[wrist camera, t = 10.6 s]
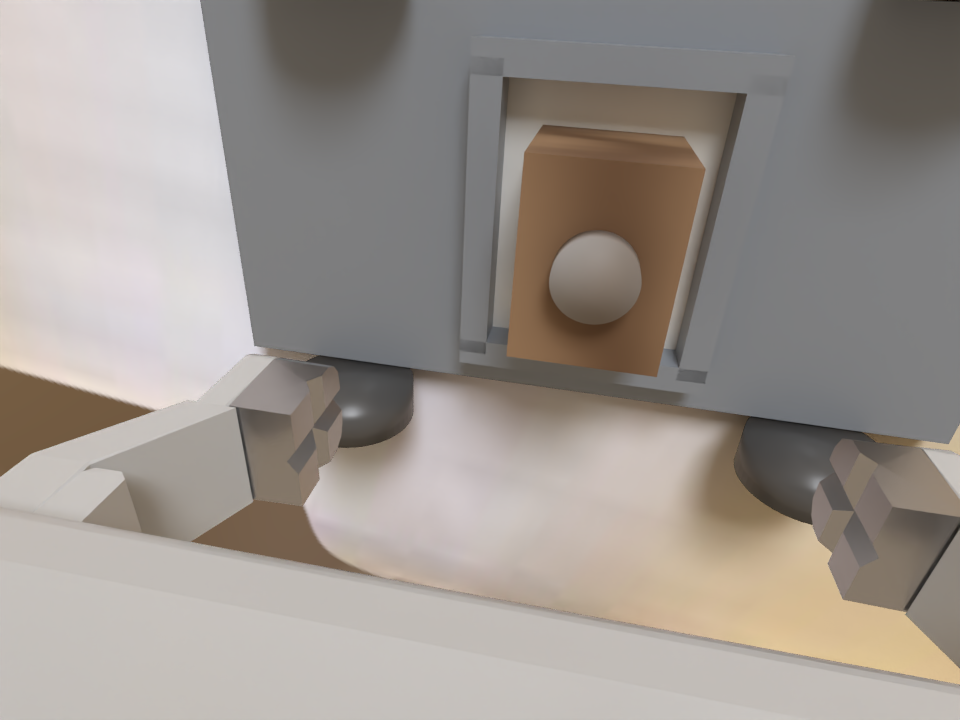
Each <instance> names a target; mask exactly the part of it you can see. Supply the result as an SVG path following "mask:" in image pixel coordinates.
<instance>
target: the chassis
mask: <svg viewBox="0 0 960 720" xmlns="http://www.w3.org/2000/svg"><path fill="white" fill-rule="evenodd" d="M200 2H201V8H202V14H203V21H204V27H205V34H206V40H207V46H208V53H209V59H210V65H211V72H212V78H213V84H214V91H215V97H216V104H217V110H218V116H219V123H220V129H221V135H222V142H223V148H224V155H225V161H226V167H227V174H228V180H229V186H230V193H231V199H232V206H233V212H234V218H235V225H236V231H237V237H238V244H239V250H240V257H241V263H242V269H243V276H244V282H245V288H246V295H247V301H248V307H249V314H250V320H251V327H252V333H253V339H254V346H259V347H266V348H273V349H280V350H287V351H294V352H301V353H308V354H315V355H319V356H317V357H314V358H312V359H310V360H308V361H306V362H310V363H317V364H323V365H329V366H334V367H335V369H336V370H337V371H338V375H339V384H340V389H339V391H338V392H337V394H336V395H335V397H334V398H333V399H334V401H335V402H336V403H337V405H338V406H339V407H340V408H341V410H342V421H343V422H342V434H341V438H340V441H339V445H338V447H341V448H351V447H362V446H368V445H372V444H376V443H379V442H382V441H385V440H387V439H389V438H391V437H393V436H395V435H396V434H398V433H399V432H401V431H402V430H403V429H404V428H405V427H406V426H407V425H408V424H409V422H410V420H411V418H412V416H413V374H412V371H411V369H410V368H414V369H421V370H428V371H435V372H442V373H449V374H457V375H464V376H471V377H478V378H485V379H492V380H499V381H506V382H513V383H520V384H527V385H534V386H541V387H548V388H555V389H563V390H570V391H577V392H584V393H591V394H598V395H605V396H612V397H619V398H626V399H633V400H640V401H647V402H654V403H661V404H669V405H676V406H683V407H690V408H697V409H704V410H711V411H718V412H725V413H732V414H739V415H746V416H751V417H750V418H749V419H748V420H747V422H746V425H745V428H744V431H743V434H742V437H741V440H740V443H739V446H738V449H737V452H736V455H735V458H734V468H735V471H736V474H737V476H738V478H739V479H740V481H741V482H742V484H743V485H744V486H745V487H746V488H747V489H748V491H749V492H750V493H752V494H753V495H754V496H755V497H756V498H757V499H759V500H760V501H761V502H763V503H764V504H766V505H767V506H769V507H771V508H772V509H774V510H776V511H778V512H780V513H782V514H784V515H786V516H788V517H790V518H793V519H796V520H798V521H801V522H804V523H808V524H811V525H813V523H812V517H811V513H812V502H813V496H814V494H815V491H816V489H817V486H818V484H819V481H821V480H823V479H824V478H826V477H827V476H829V475H831V474H832V473H834V472H835V471H834V469H833V467H832V465H831V462H830V460H829V459H830V456H831V454H832V452H833V450H834V448H835V446H836V445H837V444H838V443H839V442H840V441H841V440H842V439H850V440H858V441H867V442H875V441H874V440H872V439H871V438H870V437H868V436H867V435H865V434H864V433H862V432H866V433H873V434H881V435H888V436H895V437H902V438H909V439H916V440H923V441H930V442H937V443H944V444H949V442H950V440H951V439H952V437H953V435H954V433H955V431H956V429H957V428H958V426H959V424H960V2H953V1H932V0H200ZM542 125H554V126H566V127H578V128H589V129H601V130H613V131H624V132H636V133H648V134H659V135H671V136H683V137H685V139H686V140H687V142H688V143H689V145H690V146H691V148H692V149H693V151H694V152H695V154H696V155H697V157H698V158H699V160H700V161H701V163H702V164H703V165H704V167H705V168H706V170H705V174H704V179H703V183H702V187H701V191H700V196H699V200H698V204H697V208H696V213H695V217H694V221H693V225H692V230H691V234H690V238H689V242H688V247H687V251H686V255H685V259H684V264H683V268H682V272H681V276H680V281H679V285H678V289H677V293H676V298H675V302H674V306H673V310H672V315H671V319H670V323H669V327H668V332H667V336H666V340H665V344H664V349H663V353H662V357H661V361H660V366H659V370H658V374H657V377H652V376H645V375H638V374H630V373H623V372H616V371H609V370H602V369H595V368H587V367H580V366H573V365H566V364H559V363H552V362H544V361H537V360H530V359H523V358H516V357H509V356H506V355H507V344H508V332H509V321H510V309H511V298H512V286H513V275H514V263H515V252H516V240H517V229H518V217H519V206H520V194H521V183H522V171H523V160H524V152H525V150H526V149H527V147H528V146H529V144H530V143H531V141H532V140H533V138H534V137H535V136H536V134H537V133H538V131H539V130H540V128H541V127H542ZM875 443H876V442H875Z"/></svg>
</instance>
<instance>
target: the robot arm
mask: <svg viewBox="0 0 960 720" xmlns="http://www.w3.org/2000/svg"><path fill="white" fill-rule="evenodd" d="M339 389H340V384H339V375H338V371H337V370H336V369H335V367H334V366H329V365H323V364H317V363H310V362H304V361H298V360H292V359H286V358H278V357H274V356H266V355H258V354H249V355H246V356H245V357H244V358H243V359H242V360H241V361H240V362H238V363H237V364H236V365H235V366H234V367H233V368H232V369H231V370H230V371H229V372H228V373H227V374H226V375H224V376H223V377H222V378H221V379H220V380H219V381H218V382H217V383H216V384H215V385H214V386H213V387H212V388H210V389H209V390H208V391H207V392H206V393H205V394H204V395H203V396H202V397H201V398H200V399H199V400H198V401H189V400H187V401H184V402H181V403H178V404H175V405H172V406H170V407H167V408H164V409H161V410H158V411H155V412H152V413H149V414H146V415H143V416H140V417H137V418H135V419H132V420H129V421H126V422H123V423H120V424H117V425H114V426H111V427H108V428H105V429H102V430H100V431H97V432H94V433H91V434H88V435H85V436H82V437H79V438H76V439H73V440H70V441H67V442H65V443H62V444H59V445H56V446H53V447H50V448H47V449H44V450H41V451H38V452H35V453H32V454H30V455H29V456H28V457H27V458H25V459H24V460H23V461H21V462H20V463H19V464H17V465H16V466H14V467H13V468H12V469H11V470H9V471H8V472H7V473H5V474H4V475H3V476H1V477H0V720H960V685H959V684H954V683H948V682H943V681H938V680H932V679H927V678H921V677H916V676H911V675H905V674H900V673H895V672H889V671H884V670H878V669H873V668H868V667H862V666H857V665H852V664H846V663H841V662H835V661H830V660H825V659H819V658H814V657H809V656H803V655H798V654H793V653H787V652H782V651H776V650H771V649H766V648H760V647H755V646H750V645H744V644H739V643H733V642H728V641H723V640H717V639H712V638H707V637H701V636H696V635H690V634H685V633H680V632H674V631H669V630H664V629H658V628H653V627H647V626H642V625H636V624H631V623H625V622H620V621H615V620H609V619H604V618H598V617H593V616H587V615H582V614H576V613H571V612H566V611H560V610H555V609H549V608H544V607H538V606H533V605H527V604H522V603H516V602H511V601H506V600H500V599H495V598H489V597H484V596H478V595H473V594H467V593H462V592H457V591H451V590H446V589H441V588H435V587H430V586H424V585H419V584H414V583H408V582H403V581H397V580H392V579H387V578H381V577H376V576H370V575H365V574H360V573H354V572H349V571H343V570H338V569H333V568H327V567H322V566H316V565H310V564H306V563H300V562H295V561H290V560H284V559H279V558H273V557H268V556H263V555H257V554H252V553H247V552H241V551H235V550H230V549H225V548H219V547H214V546H209V545H203V544H197V543H193V542H191V541H192V540H194V539H195V538H197V537H199V536H200V535H202V534H203V533H205V532H206V531H208V530H210V529H211V528H213V527H214V526H216V525H217V524H219V523H221V522H222V521H224V520H225V519H227V518H228V517H230V516H232V515H233V514H235V513H236V512H238V511H239V510H241V509H242V508H244V507H246V506H247V505H249V504H250V503H252V502H253V499H255V500H262V501H269V502H276V503H283V504H291V505H297V506H303V505H304V503H305V502H306V500H307V498H308V497H309V495H310V494H311V492H312V490H313V489H314V487H315V486H316V484H317V482H318V481H319V469H318V468H319V467H321V466H323V465H325V464H327V463H329V462H330V461H331V460H332V458H333V456H334V454H335V453H336V451H337V448H338V445H339V441H340V438H341V434H342V422H343V421H342V410H341V408H340V407H339V406H338V405H337V403H336V402H335V401H334V399H333V398H334V397H335V395H336V394H337V392H338V391H339ZM829 460H830V462H831V465H832V467H833V469H834V471H835V472H834V473H832V474H831V475H829V476H827V477H826V478H824V479H823V480H821V481H819V484H818V486H817V489H816V491H815V494H814V496H813V502H812V513H811V517H812V523H813V529H814V531H815V534H816V536H817V539H818V541H819V542H820V543H822V544H823V545H824V546H825V547H826V548H827V549H829V550H830V551H831V552H832V556H831V558H830V560H829V562H828V565H829V568H830V570H831V573H832V575H833V577H834V580H835V582H836V584H837V587H838V589H839V591H840V594H841V596H842V599H843V600H848V601H853V602H858V603H863V604H868V605H873V606H878V607H883V608H888V609H893V610H898V611H903V612H907V613H906V614H905V615H906V616H907V617H908V618H909V619H910V620H911V621H912V622H913V623H914V624H915V625H916V626H917V627H918V628H919V629H920V630H921V631H922V632H923V633H924V634H925V635H926V636H927V637H928V638H929V639H930V640H931V641H932V642H933V643H934V644H936V645H937V646H938V647H939V648H940V649H941V650H942V651H943V652H944V653H945V654H946V655H947V656H948V657H949V658H950V659H951V660H952V661H953V662H954V663H955V664H956V665H957V666H958V667H959V668H960V455H958V454H956V453H954V452H952V451H949V450H939V449H930V448H921V447H909V446H900V445H892V444H883V443H875V442H867V441H858V440H850V439H842V440H841V441H840V442H839V443H838V444H837V445H836V446H835V448H834V450H833V452H832V454H831V456H830V459H829Z"/></svg>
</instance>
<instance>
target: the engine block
mask: <svg viewBox="0 0 960 720" xmlns="http://www.w3.org/2000/svg"><path fill="white" fill-rule="evenodd" d="M705 170H706V168H705V167H704V165H703V164H702V163H701V161H700V160H699V158H698V157H697V155H696V154H695V152H694V151H693V149H692V148H691V146H690V145H689V143H688V142H687V140H686V139H685V137H683V136H671V135H659V134H648V133H636V132H624V131H613V130H601V129H589V128H578V127H566V126H554V125H542V127H541V128H540V130H539V131H538V133H537V134H536V136H535V137H534V138H533V140H532V141H531V143H530V144H529V146H528V147H527V149H526V150H525V152H524V160H523V171H522V183H521V194H520V206H519V217H518V229H517V240H516V252H515V263H514V275H513V286H512V298H511V309H510V321H509V332H508V344H507V355H506V356H509V357H516V358H523V359H530V360H537V361H544V362H552V363H559V364H566V365H573V366H580V367H587V368H595V369H602V370H609V371H616V372H623V373H630V374H638V375H645V376H652V377H657V374H658V370H659V366H660V361H661V357H662V353H663V349H664V344H665V340H666V336H667V332H668V327H669V323H670V319H671V315H672V310H673V306H674V302H675V298H676V293H677V289H678V285H679V281H680V276H681V272H682V268H683V264H684V259H685V255H686V251H687V247H688V242H689V238H690V234H691V230H692V225H693V221H694V217H695V213H696V208H697V204H698V200H699V196H700V191H701V187H702V183H703V179H704V174H705Z"/></svg>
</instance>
